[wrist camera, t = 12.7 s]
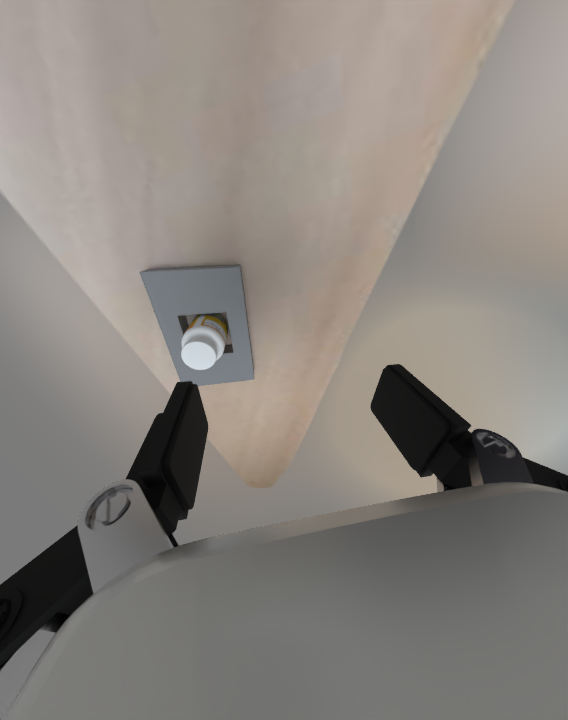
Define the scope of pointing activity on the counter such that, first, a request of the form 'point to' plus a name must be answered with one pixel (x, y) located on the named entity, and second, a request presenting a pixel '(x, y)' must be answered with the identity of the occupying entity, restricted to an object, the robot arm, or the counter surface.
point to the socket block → (202, 296)
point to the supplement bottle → (204, 341)
